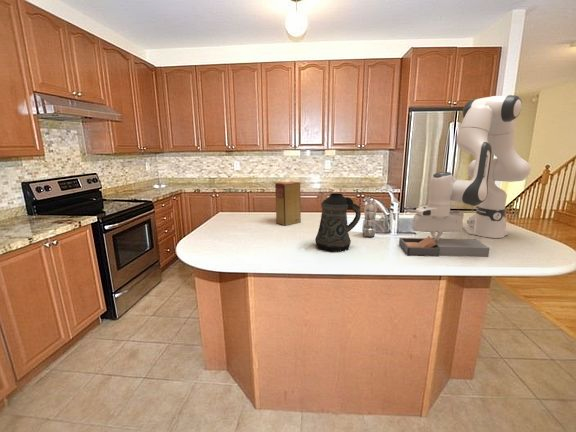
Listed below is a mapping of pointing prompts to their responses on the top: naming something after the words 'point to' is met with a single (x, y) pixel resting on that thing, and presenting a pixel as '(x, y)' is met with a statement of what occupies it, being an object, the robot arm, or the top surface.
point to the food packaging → (288, 203)
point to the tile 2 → (427, 243)
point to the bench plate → (461, 247)
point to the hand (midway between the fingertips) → (435, 240)
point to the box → (417, 248)
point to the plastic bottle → (370, 218)
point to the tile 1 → (412, 244)
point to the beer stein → (336, 223)
